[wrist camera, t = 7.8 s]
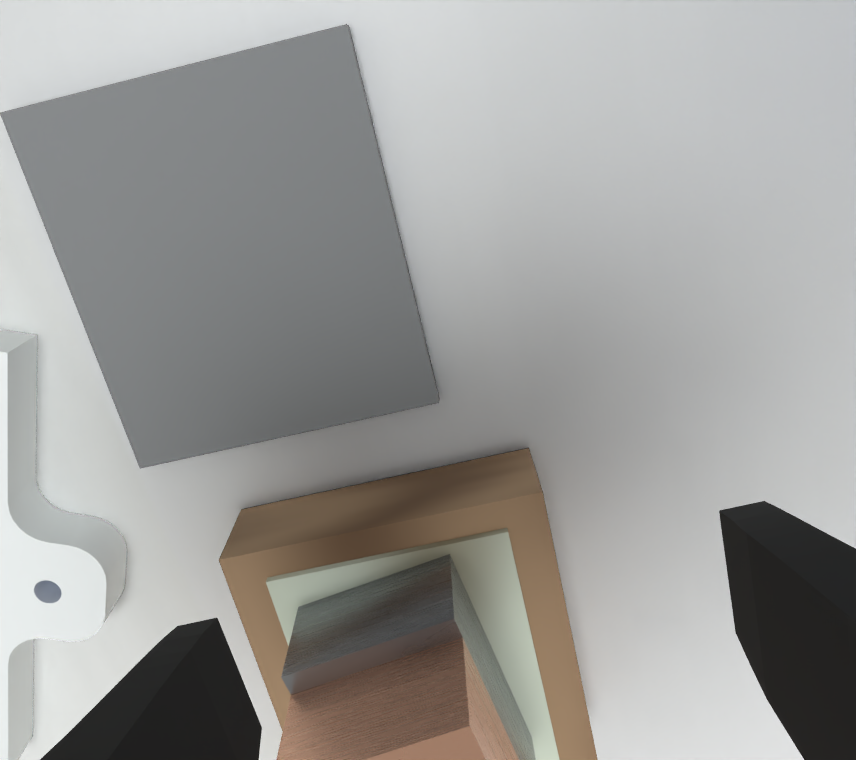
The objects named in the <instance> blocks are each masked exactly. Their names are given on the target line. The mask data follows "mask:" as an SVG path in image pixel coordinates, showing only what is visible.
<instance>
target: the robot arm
mask: <svg viewBox="0 0 856 760" xmlns="http://www.w3.org/2000/svg"><path fill="white" fill-rule="evenodd" d="M719 513H720V521H721V528H722V535H723V543H724V550H725V557H726V565H727V572H728V579H729V587H730V594H731V602H732V609H733V616H734V624H735V631H736V634H737V636H738V639H739V641H740V643H741V645H742V647H743V650H744V652H745V654H746V656H747V658H748V660H749V663H750V665H751V667H752V669H753V671H754V673H755V675H756V677H757V680H758V682H759V684H760V686H761V688H762V690H763V692H764V694H765V696H766V698H767V700H768V702H769V703H770V705H771V707H772V708H773V710H774V712H775V713H776V715H777V716H778V718H779V720H780V721H781V723H782V724H783V726H784V728H785V729H786V731H787V733H788V734H789V736H790V737H791V739H792V741H793V742H794V744H795V745H796V747H797V749H798V750H799V752H800V753H801V755H802V757H803V758H804V760H856V549H855V548H853V547H851V546H849V545H847V544H846V543H844V542H842V541H840V540H838V539H836V538H834V537H832V536H830V535H828V534H827V533H825V532H823V531H821V530H819V529H817V528H815V527H813V526H811V525H810V524H808V523H806V522H804V521H802V520H800V519H798V518H796V517H795V516H793V515H791V514H789V513H787V512H785V511H783V510H781V509H779V508H777V507H775V506H773V505H771V504H769V503H767V502H765V501H763V502H758V503H753V504H749V505H744V506H739V507H734V508H730V509H725V510H720V511H719ZM261 730H262V727H261V725H260V722H259V720H258V717H257V715H256V712H255V710H254V707H253V705H252V702H251V700H250V697H249V695H248V693H247V690H246V688H245V685H244V683H243V680H242V678H241V675H240V673H239V670H238V668H237V665H236V663H235V660H234V658H233V655H232V653H231V650H230V648H229V646H228V643H227V641H226V638H225V636H224V633H223V631H222V628H221V626H220V623H219V621H218V618H214V619H209V620H204V621H200V622H195V623H190V624H186V625H181V626H177V627H176V628H175V629H174V630H172V631H171V632H170V633H169V634H168V635H167V636H165V637H164V638H163V639H162V640H161V641H160V642H159V643H158V644H157V645H156V646H155V647H154V648H153V649H152V650H151V651H150V652H149V653H148V654H147V655H146V656H145V657H144V658H143V659H142V660H141V661H140V662H139V663H138V664H137V665H136V666H135V667H134V668H133V669H132V670H131V671H130V672H129V673H128V674H127V675H126V676H125V677H124V678H123V679H122V680H121V681H120V682H119V683H118V684H117V685H116V686H115V687H114V688H113V689H112V690H111V691H110V692H109V693H108V694H107V695H106V696H105V697H104V698H103V699H102V700H101V701H100V702H99V703H98V704H97V705H96V706H95V707H94V708H93V709H92V710H91V711H90V712H89V713H88V714H87V715H86V716H85V717H84V718H83V719H82V720H81V721H80V722H79V723H78V724H77V725H76V726H75V727H74V728H73V729H72V730H71V731H70V732H69V733H68V734H67V735H66V736H65V737H64V738H63V739H62V740H61V741H60V742H58V743H57V744H56V745H55V746H54V747H53V748H52V749H51V750H50V751H49V752H48V753H47V754H46V755H45V756H44V757H43V758H41V759H40V760H258V759H259V749H260V739H261Z"/></svg>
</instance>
